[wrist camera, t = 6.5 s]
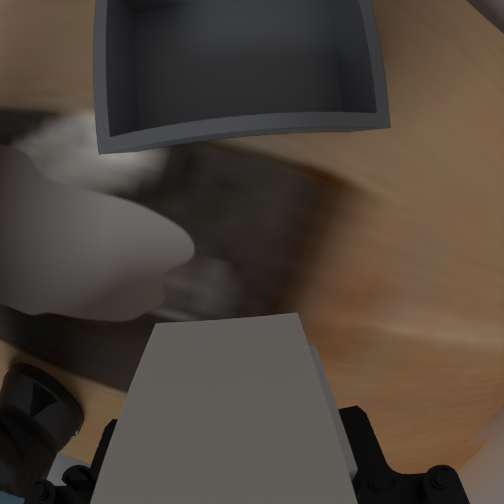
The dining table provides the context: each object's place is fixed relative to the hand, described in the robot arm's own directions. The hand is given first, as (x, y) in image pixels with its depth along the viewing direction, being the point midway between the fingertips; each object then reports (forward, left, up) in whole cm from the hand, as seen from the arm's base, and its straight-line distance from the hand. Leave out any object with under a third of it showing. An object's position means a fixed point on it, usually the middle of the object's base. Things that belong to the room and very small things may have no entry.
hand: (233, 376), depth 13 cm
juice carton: (0, 0, 0) cm, 0 cm away
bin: (+2, +18, -17) cm, 25 cm away
